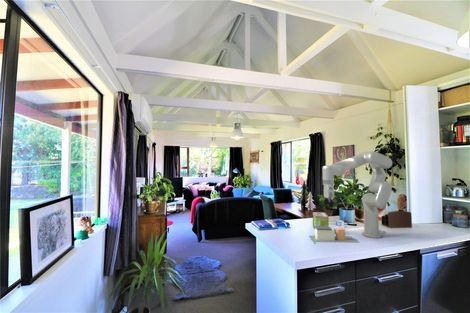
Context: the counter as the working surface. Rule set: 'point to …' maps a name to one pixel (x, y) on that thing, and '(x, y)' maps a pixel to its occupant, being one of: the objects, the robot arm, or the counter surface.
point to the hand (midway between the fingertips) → (328, 205)
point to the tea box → (320, 219)
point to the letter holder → (397, 219)
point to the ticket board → (347, 240)
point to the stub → (340, 233)
